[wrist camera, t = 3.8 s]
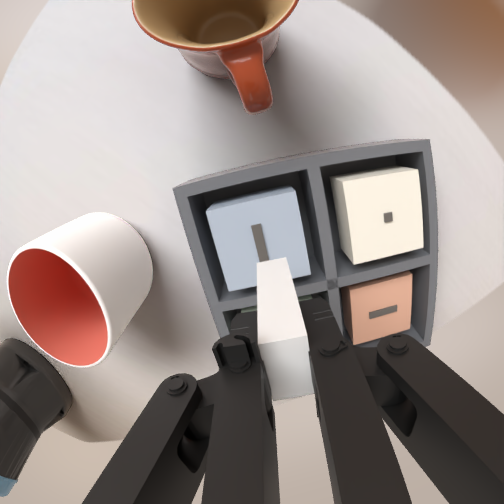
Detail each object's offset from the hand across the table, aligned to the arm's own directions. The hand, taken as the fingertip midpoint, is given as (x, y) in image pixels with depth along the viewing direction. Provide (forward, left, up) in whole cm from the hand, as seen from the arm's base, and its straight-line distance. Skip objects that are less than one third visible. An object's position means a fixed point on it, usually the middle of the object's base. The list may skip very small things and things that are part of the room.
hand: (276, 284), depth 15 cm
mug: (+1, +15, -10) cm, 18 cm away
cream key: (+8, +1, -7) cm, 11 cm away
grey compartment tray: (+4, -3, -10) cm, 11 cm away
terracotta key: (+8, -8, -9) cm, 14 cm away
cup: (-15, +1, -10) cm, 18 cm away
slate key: (-1, +1, -7) cm, 7 cm away
